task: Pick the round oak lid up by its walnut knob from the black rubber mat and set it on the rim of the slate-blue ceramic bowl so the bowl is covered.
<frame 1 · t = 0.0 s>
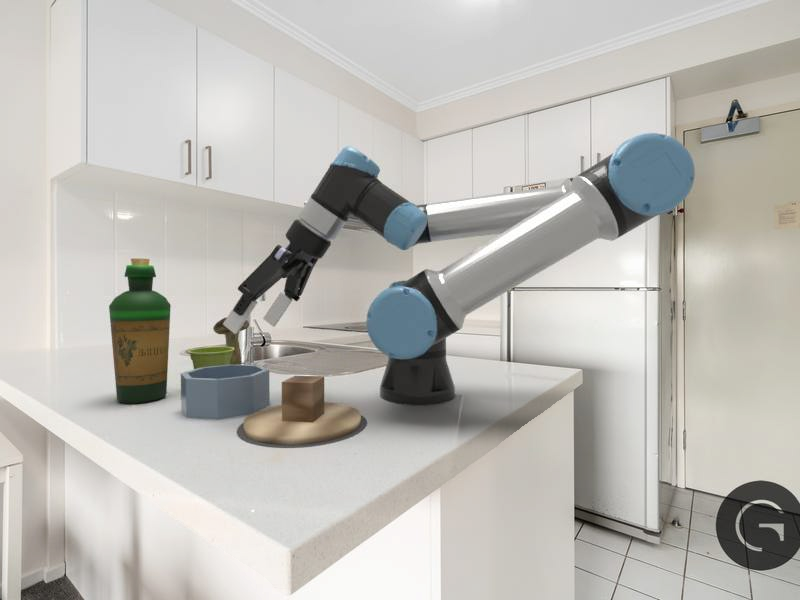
hand: (250, 325, 79), 15 cm above the table, tool tilted 35°, fingers open, 13 cm apart
mushroom: (231, 375, 110), on the table
lid: (303, 424, 68), resting on mat
bottle: (142, 400, 86), on the table
mat: (303, 427, 68), on the table
plant pot: (212, 389, 95), on the table
bowl: (226, 409, 78), on the table
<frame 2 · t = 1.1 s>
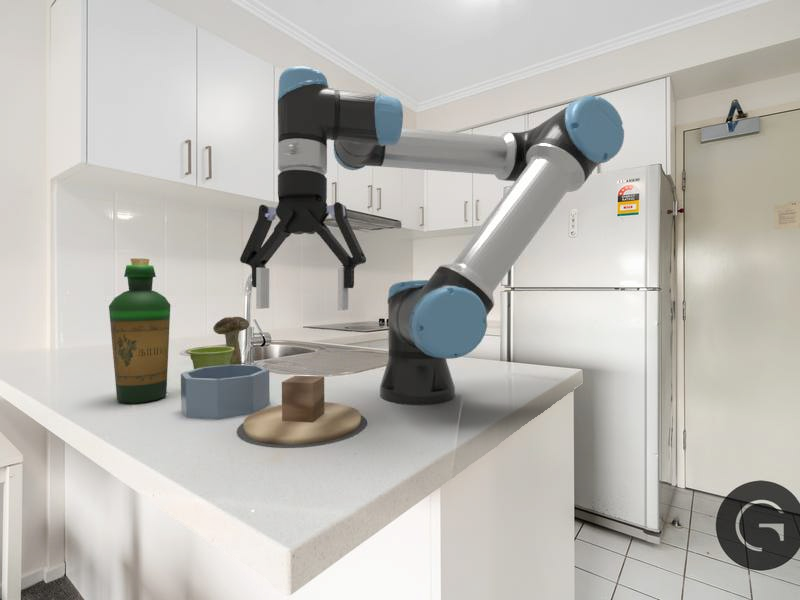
hand: (302, 309, 68), 19 cm above the table, tool pointing down, fingers open, 13 cm apart
nothing on the table moved.
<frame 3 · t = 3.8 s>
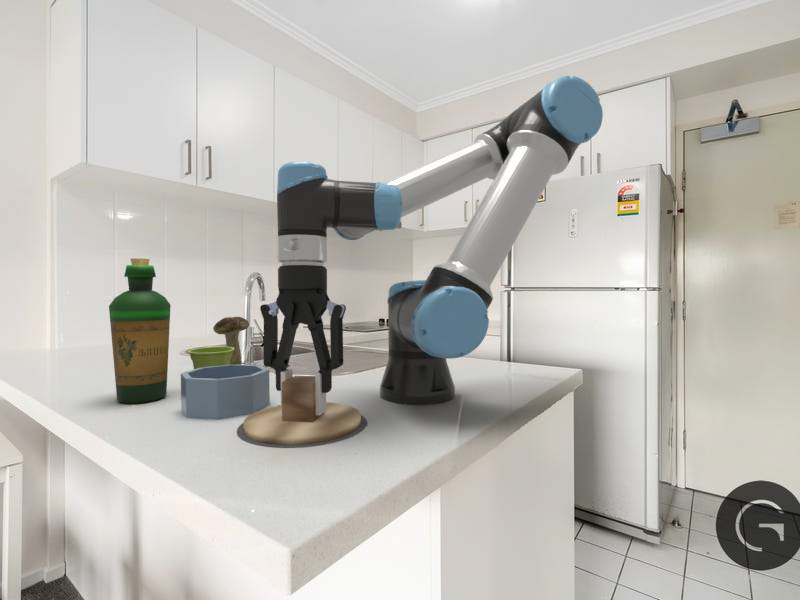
hand: (303, 411, 68), 3 cm above the table, tool pointing down, fingers closed on lid, 5 cm apart
lid: (304, 424, 68), resting on mat, touching gripper
everything else where it was.
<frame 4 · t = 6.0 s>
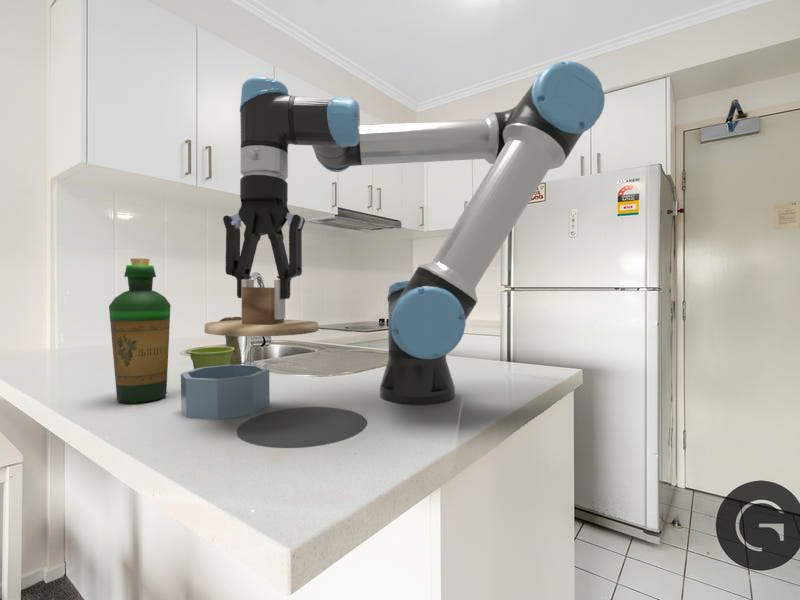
hand: (263, 318, 72), 17 cm above the table, tool pointing down, fingers closed on lid, 5 cm apart
lid: (263, 330, 72), point 15 cm above the table, touching gripper
everything else where it was.
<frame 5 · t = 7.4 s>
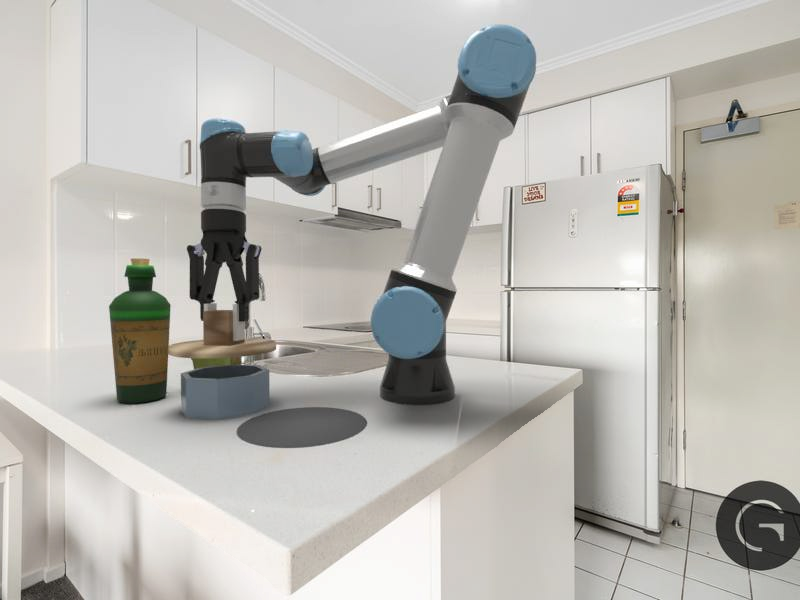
hand: (224, 339, 78), 13 cm above the table, tool pointing down, fingers closed on lid, 5 cm apart
lid: (224, 350, 78), point 11 cm above the table, touching gripper
everything else where it was.
when the fingers open (11 cm above the table, at t = 8.4 s): lid drops 1 cm, resting on bowl.
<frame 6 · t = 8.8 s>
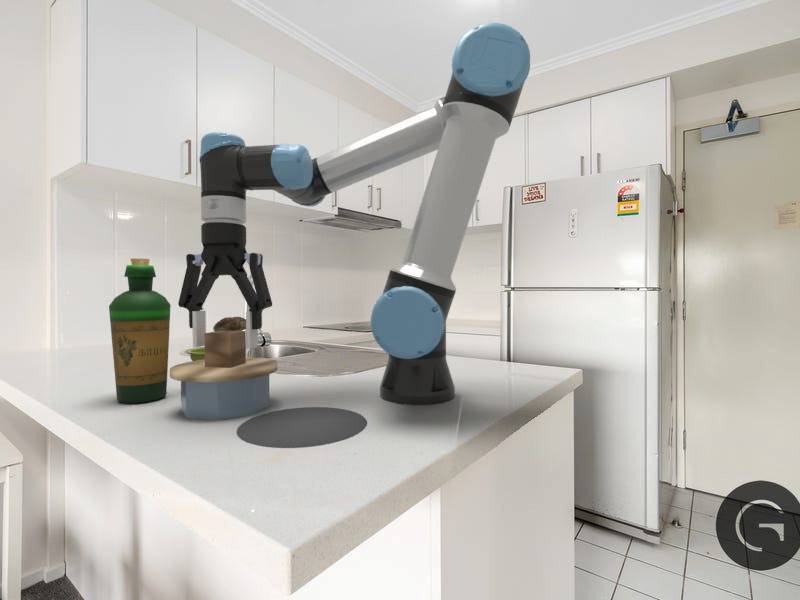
hand: (225, 346, 78), 11 cm above the table, tool pointing down, fingers open, 10 cm apart
lid: (225, 371, 78), point 7 cm above the table, touching bowl
everything else where it was.
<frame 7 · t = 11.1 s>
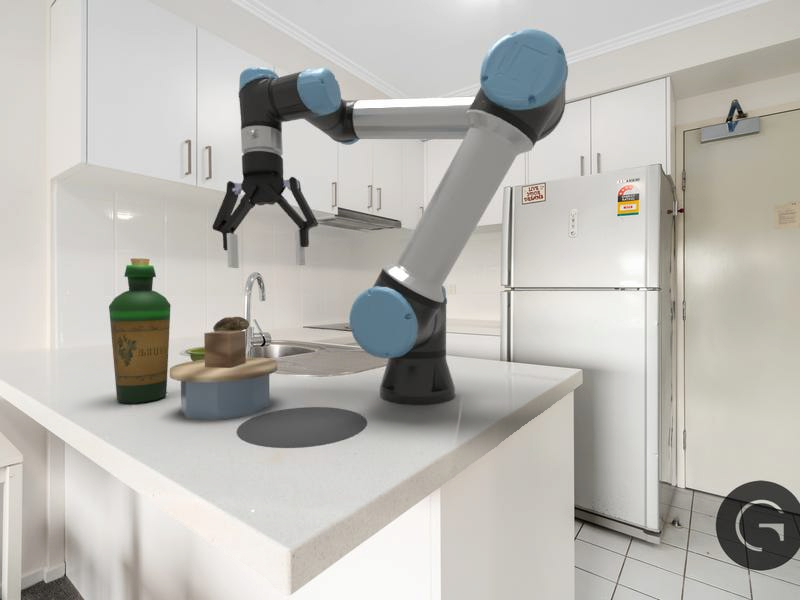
hand: (266, 266, 83), 26 cm above the table, tool pointing down, fingers open, 13 cm apart
nothing on the table moved.
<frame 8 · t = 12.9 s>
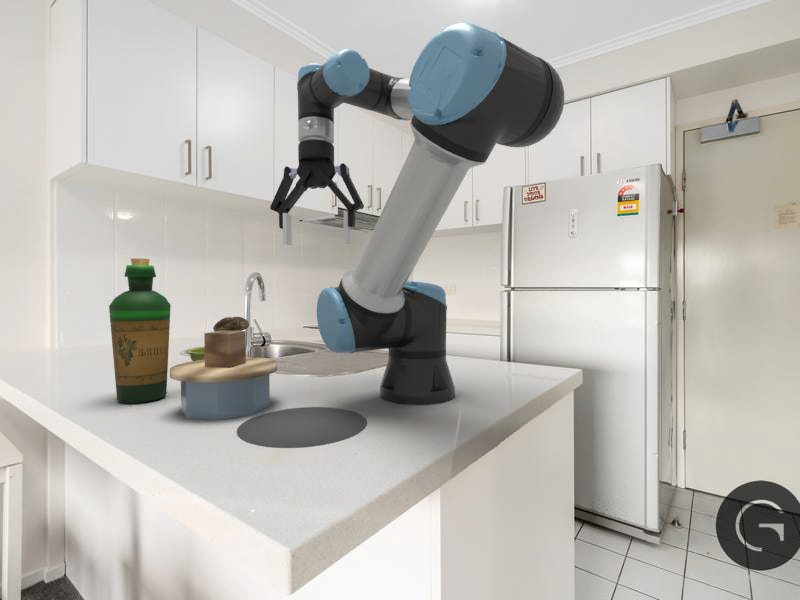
hand: (317, 243, 92), 32 cm above the table, tool pointing down, fingers open, 13 cm apart
nothing on the table moved.
at the end: lid 0.0 cm off-centre on the bowl, point 7.0 cm above the bowl's base; lid tilted 0°; the gripper is holding nothing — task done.
